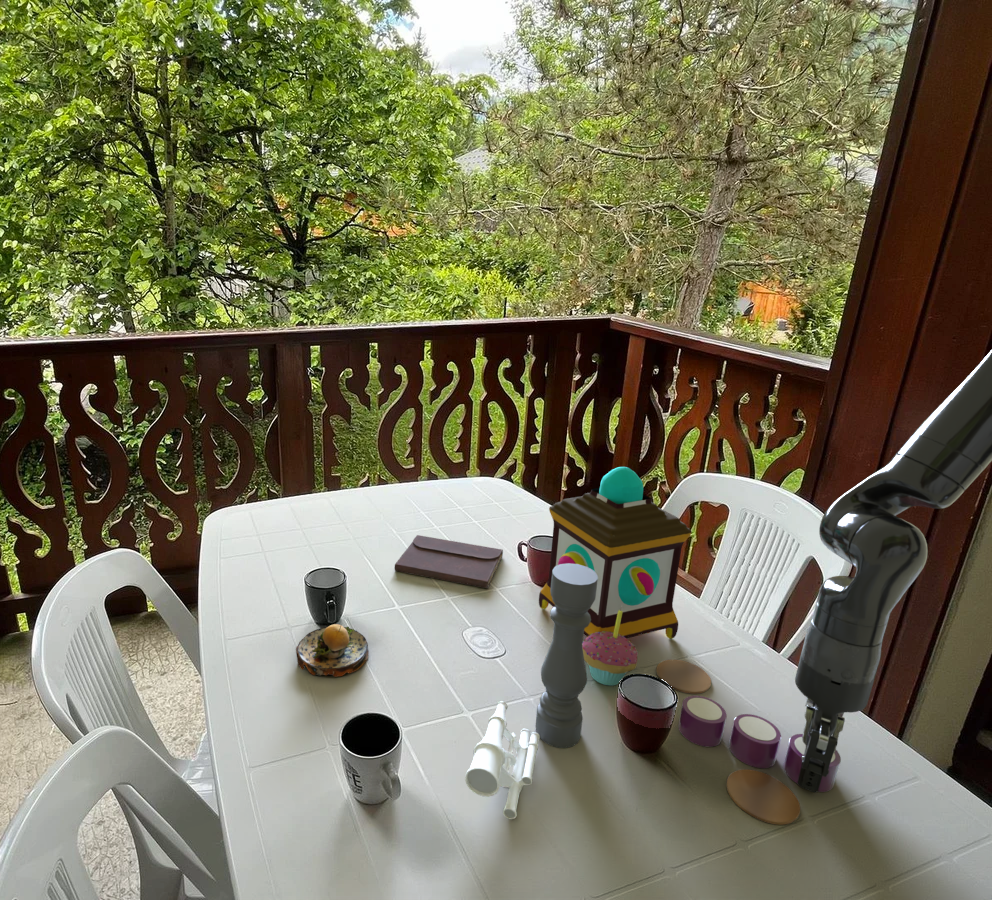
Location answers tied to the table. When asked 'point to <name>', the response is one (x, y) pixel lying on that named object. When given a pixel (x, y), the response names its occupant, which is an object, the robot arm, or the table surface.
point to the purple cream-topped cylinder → (702, 721)
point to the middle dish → (754, 741)
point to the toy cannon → (502, 761)
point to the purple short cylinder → (794, 763)
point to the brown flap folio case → (450, 561)
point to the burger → (332, 651)
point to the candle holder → (566, 656)
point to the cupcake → (609, 655)
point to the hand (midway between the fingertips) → (808, 770)
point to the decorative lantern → (621, 554)
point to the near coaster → (763, 796)
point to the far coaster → (684, 676)
